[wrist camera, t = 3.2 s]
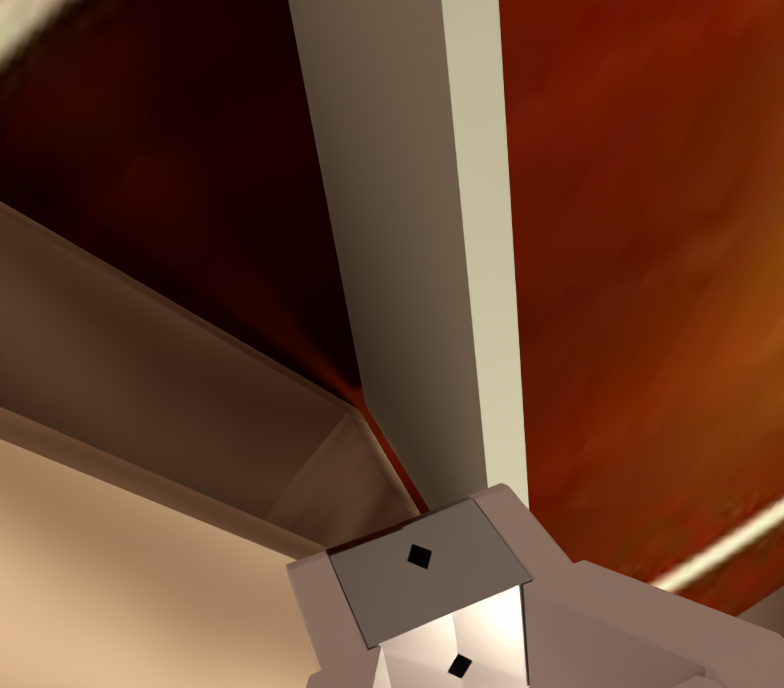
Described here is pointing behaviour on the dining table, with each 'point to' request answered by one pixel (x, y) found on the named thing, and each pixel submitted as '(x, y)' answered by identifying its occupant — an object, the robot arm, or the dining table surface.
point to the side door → (423, 228)
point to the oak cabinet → (159, 484)
